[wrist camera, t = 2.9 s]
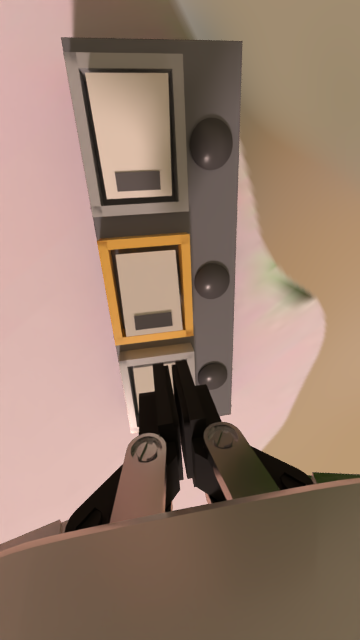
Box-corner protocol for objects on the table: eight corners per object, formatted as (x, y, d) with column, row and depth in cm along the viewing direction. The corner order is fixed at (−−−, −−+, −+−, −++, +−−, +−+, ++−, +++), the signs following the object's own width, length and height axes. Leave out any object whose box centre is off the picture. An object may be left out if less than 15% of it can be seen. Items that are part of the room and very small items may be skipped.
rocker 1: (87, 75, 13) (84, 72, 12) (165, 75, 14) (168, 72, 13) (107, 195, 17) (106, 199, 16) (169, 192, 17) (172, 195, 16)
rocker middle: (117, 256, 18) (115, 254, 17) (173, 251, 19) (175, 249, 17) (127, 333, 19) (126, 337, 18) (180, 327, 20) (182, 330, 18)
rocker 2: (133, 364, 22) (133, 369, 21) (180, 358, 22) (182, 362, 21) (141, 425, 23) (141, 432, 22) (186, 417, 23) (188, 424, 22)
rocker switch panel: (73, 65, 16) (52, 18, 12) (225, 67, 18) (253, 24, 13) (131, 408, 28) (130, 443, 24) (221, 394, 29) (235, 425, 25)
